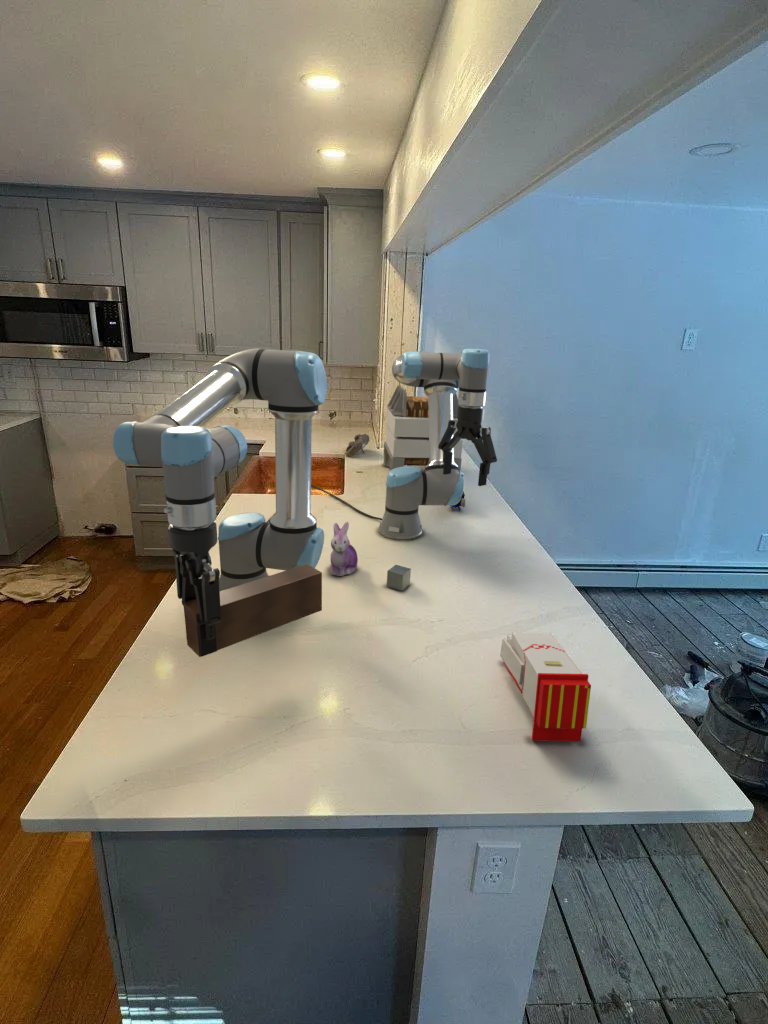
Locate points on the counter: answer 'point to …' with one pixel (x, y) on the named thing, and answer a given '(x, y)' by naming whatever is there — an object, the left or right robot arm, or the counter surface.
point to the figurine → (342, 552)
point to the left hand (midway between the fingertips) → (201, 645)
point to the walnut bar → (260, 606)
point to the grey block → (398, 577)
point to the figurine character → (461, 503)
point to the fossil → (357, 445)
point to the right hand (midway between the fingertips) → (464, 479)
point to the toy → (548, 685)
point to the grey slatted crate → (411, 431)
